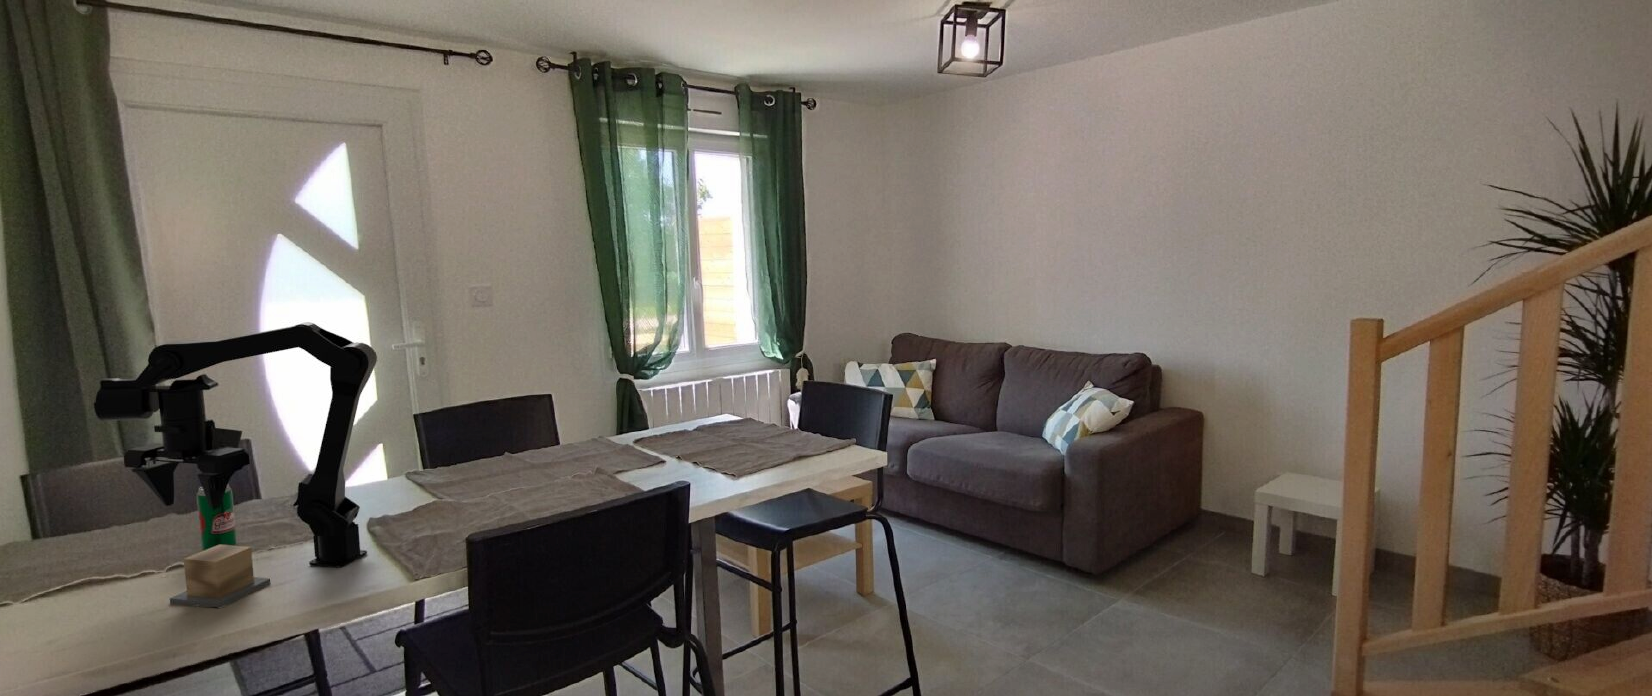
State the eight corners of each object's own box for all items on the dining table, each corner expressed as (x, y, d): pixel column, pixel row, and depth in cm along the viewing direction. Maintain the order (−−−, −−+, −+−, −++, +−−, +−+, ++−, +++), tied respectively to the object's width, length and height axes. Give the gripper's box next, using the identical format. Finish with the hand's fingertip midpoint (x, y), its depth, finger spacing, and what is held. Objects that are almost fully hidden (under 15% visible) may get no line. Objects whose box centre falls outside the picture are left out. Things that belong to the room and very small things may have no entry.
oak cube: (254, 581, 124) (250, 547, 124) (219, 598, 119) (216, 561, 118) (223, 578, 125) (219, 544, 125) (187, 594, 119) (183, 558, 119)
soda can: (217, 555, 136) (211, 491, 135) (194, 552, 137) (188, 489, 136) (244, 544, 141) (238, 483, 140) (222, 542, 142) (216, 481, 141)
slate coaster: (270, 583, 126) (270, 578, 126) (219, 608, 117) (218, 603, 117) (224, 578, 127) (223, 574, 127) (170, 603, 118) (169, 598, 118)
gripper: (274, 409, 131) (282, 495, 133) (184, 404, 134) (192, 488, 136) (213, 423, 120) (222, 517, 122) (116, 418, 123) (126, 509, 125)
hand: (192, 507), depth 127 cm, fingers open, 9 cm apart
